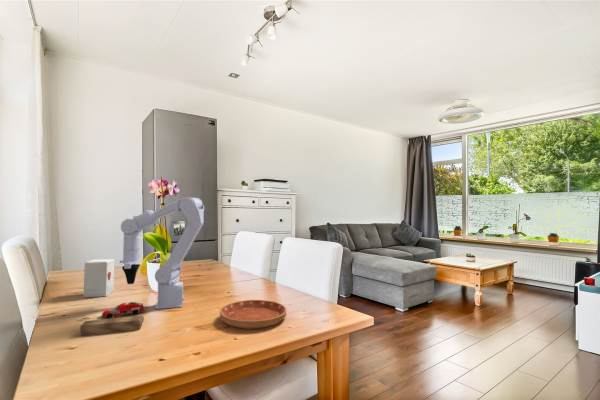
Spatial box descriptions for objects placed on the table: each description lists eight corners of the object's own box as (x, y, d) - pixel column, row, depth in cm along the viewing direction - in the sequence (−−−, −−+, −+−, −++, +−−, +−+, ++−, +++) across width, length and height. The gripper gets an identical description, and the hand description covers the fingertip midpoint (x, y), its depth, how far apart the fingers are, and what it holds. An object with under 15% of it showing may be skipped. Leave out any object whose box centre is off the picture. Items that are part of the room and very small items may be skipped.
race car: (101, 320, 106) (101, 308, 106) (102, 315, 110) (102, 304, 111) (144, 314, 112) (144, 303, 112) (143, 309, 117) (144, 299, 117)
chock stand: (144, 320, 105) (144, 311, 105) (139, 329, 97) (140, 320, 97) (89, 325, 100) (90, 316, 100) (80, 335, 92) (80, 325, 92)
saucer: (260, 304, 124) (260, 295, 124) (299, 320, 108) (299, 309, 108) (207, 318, 108) (207, 308, 108) (245, 339, 92) (245, 326, 92)
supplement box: (106, 296, 132) (107, 261, 133) (82, 297, 130) (83, 262, 131) (114, 291, 141) (115, 258, 141) (92, 292, 139) (93, 258, 140)
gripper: (124, 247, 128) (123, 280, 128) (115, 252, 114) (114, 289, 114) (143, 246, 130) (142, 279, 130) (136, 251, 116) (135, 287, 116)
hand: (130, 283), depth 122 cm, fingers closed
